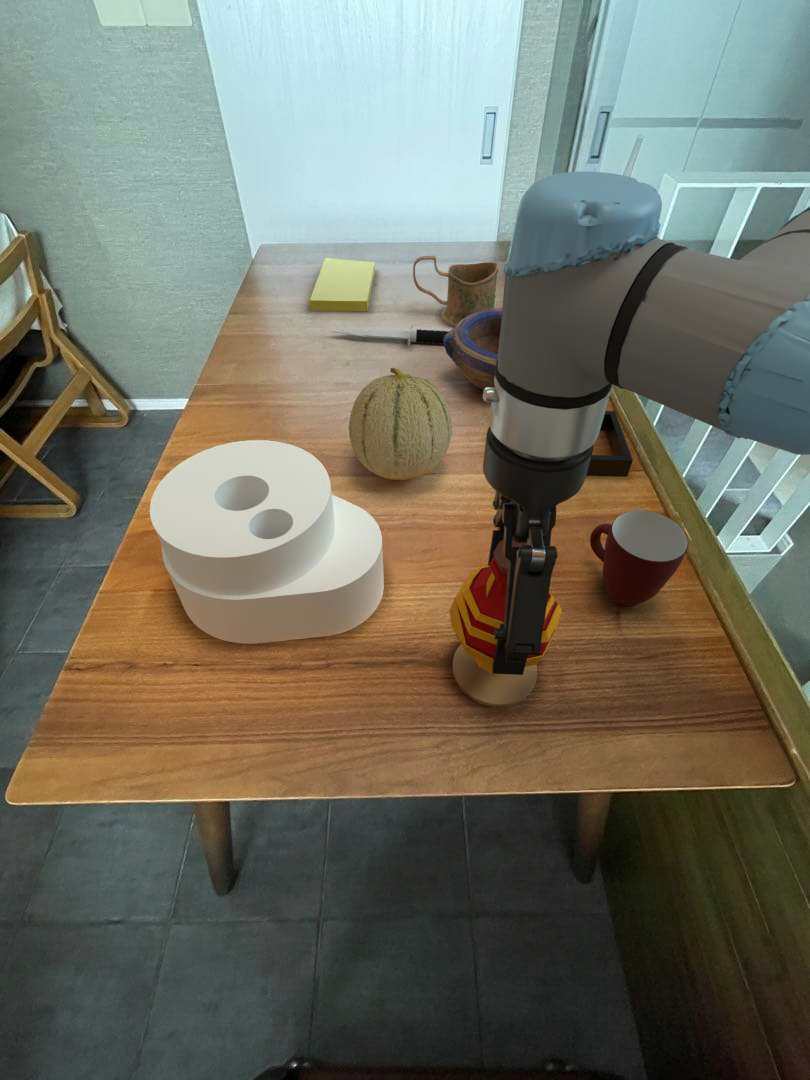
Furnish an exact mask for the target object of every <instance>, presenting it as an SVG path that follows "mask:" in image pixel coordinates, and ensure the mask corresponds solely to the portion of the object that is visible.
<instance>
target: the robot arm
mask: <svg viewBox="0 0 810 1080" xmlns="http://www.w3.org/2000/svg"><path fill="white" fill-rule="evenodd" d="M662 207H663V202H662V198H661V195H660V193H659V191H658V190H657V189H656V188H655V187H654V186H652V185H651V184H649V183H646V182H641V181H638V180H637V179H636V178H635V177H631V176H628V175H627V176H626V175H624V174H619V173H612V172H603V171H566V172H560V173H554V174H551V175H547V176H545V177H542V178H540V179H538V180H536V181H534V182H533V183H531V184H530V185H529V186H528V187H527V188H526V189H525V190H524V191H523V193H522V194H521V196H520V198H519V200H518V203H517V206H516V210H515V217H514V222H513V228H512V232H511V237H510V238H511V239H510V245H509V250H508V256H507V260H506V262H505V263H504V268H503V274H504V285H503V296H502V308H503V309H502V320H501V330H500V339H499V349H498V356H497V360H496V369H495V378H494V384H495V388H491V387H489V388H485V389H484V390H482V399H483V401H484V402H485V403H490V409H489V417H488V422H489V423H488V425H489V426H488V428H487V430H486V437H485V444H484V445H485V446H484V454H483V462H482V470H483V475H484V477H485V479H486V481H487V483H488V484H489V486H490V487H491V488H492V489H493V490H494V491H495V495H494V498H493V499H494V500H493V501H492V506H493V510H494V511H496V513H495V514H494V516H493V519H492V520H493V521H492V524H493V525H494V528H497V529H493V530H492V535H491V542H490V548H489V556H488V562H487V566H489V565H490V563H491V561H492V559H493V558H494V554H493V552H494V550H495V549H496V547H497V545H498V543H499V542H500V541H503V540H504V542H503V553H504V555H505V557H506V558H507V559H508V560H509V561H508V575H507V589H506V603H505V616H504V624H500V629H494V637H495V639H498V640H497V645H496V650H495V655H494V660H493V665H492V671H493V674H512V675H523V672H524V668H525V665H526V661H527V657H528V655H539V653H540V650H541V639H542V633H543V626H544V620H545V613H546V607H547V600H548V594H549V590H550V586H551V581H552V575H553V571H554V568H555V565H556V561H557V559H558V557H559V556H558V555H559V554H558V553H559V552H558V551H557V550H558V549H557V547H556V545H551V539H552V530H553V528H554V527H555V526H556V521H557V506H558V505H560V504H561V503H564V502H566V501H568V500H570V499H572V498H573V497H575V495H577V493H579V492H580V491H581V489H582V487H583V486H584V483H585V481H586V478H587V475H586V474H587V470H588V467H589V463H590V460H591V456H592V455H593V452H594V449H595V447H594V445H595V443H596V441H597V439H598V438H599V435H600V431H601V430H600V428H601V425H602V421H603V418H604V414H605V411H607V407H608V403H609V400H610V396H611V393H612V387H613V386H616V387H618V388H620V389H622V390H627V391H629V392H631V393H633V394H637V395H639V396H641V397H643V398H646V399H647V400H650V401H652V402H655V403H657V404H660V405H662V406H664V407H667V408H669V409H672V410H673V411H676V412H679V413H681V414H684V415H686V416H688V417H689V418H693V419H695V420H697V421H699V422H702V423H704V424H707V425H710V426H712V427H713V428H716V429H719V430H721V431H724V432H725V434H726V435H728V436H730V437H734V438H736V439H742V438H743V439H744V440H751V441H754V442H756V443H760V444H763V445H766V446H768V447H772V448H776V449H778V450H782V451H783V452H787V453H789V454H794V455H796V456H797V455H798V456H807V455H808V456H809V455H810V205H809V206H808V207H807V208H805V209H804V210H803V211H801V212H800V213H798V214H796V215H794V216H792V217H791V218H790V219H789V220H787V222H785V223H784V224H783V226H781V227H780V228H779V229H778V230H777V232H775V233H774V234H772V235H771V236H769V238H767V239H766V240H764V241H763V242H762V243H761V244H759V245H757V247H755V248H753V250H751V251H750V252H748V253H747V254H745V255H744V256H743V257H741V258H740V259H739V260H738V259H735V258H730V257H726V256H720V255H717V254H712V253H707V252H703V251H698V250H694V249H689V247H687V246H683V245H679V244H676V243H674V242H672V241H668V240H665V239H661V238H660V237H658V235H659V233H660V228H661V227H662V225H661V223H660V218H661V213H662V209H663V208H662ZM512 540H514V541H515V542H518V543H527V545H520V547H512Z"/></svg>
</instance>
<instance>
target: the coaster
mask: <svg viewBox="0 0 810 1080" xmlns="http://www.w3.org/2000/svg"><path fill="white" fill-rule="evenodd" d="M452 658H453V659H452V673H453V674H452V675H453V678H454V680H455V683H456V684H457V686H458V688H459V689H460V690H461V692H463V693H464V695H465V696H467V697H468V698H470V699H471V700H472V701H474V702H476V703H478V704H480V705H484V706H488V707H493V708H504V707H505V708H506V707H510V706H514V705H516V704H518V703H519V704H520V702H522V701H524V700H525V699H526V698H527V697H528V696H529V695H530V694H531V693H532V692H533V690H534V687H535V686H536V682H537V679H538V667H537V664H536V665H532V666H527V667H525V668H524V672H523V675H512V674H502V675H496V674H493V673H491V672H489V671H487V670H484V669H482V668H480V667H479V666H478V663H477V661H476V659H475V658H473V657H472V656H470V655H468V654H467V653H466V652H465V650H464V648H463V646H462V644H461V643H460V645H458V647H457V648H456V650H455V652H454V654H453V657H452Z"/></svg>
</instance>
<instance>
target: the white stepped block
mask: <svg viewBox="0 0 810 1080" xmlns="http://www.w3.org/2000/svg"><path fill="white" fill-rule="evenodd" d="M331 484H332V483H331V480H330V476H329V473H328V470H327V469H326V467H325V466H324V464H323V463H322V462H321V461H320V460H319V459H318V458H317V457H315V455H313V454H312V453H310V452H309V451H306V450H305V449H303V448H301V447H298V446H296V445H293V444H289V443H286V442H282V441H275V440H268V439H267V440H265V439H263V440H262V439H252V440H251V439H250V440H240V441H232V442H228V443H223V444H219V445H216V446H213V447H210V448H208V449H205V450H202V451H200V452H198V453H195V454H193V455H192V456H189V457H188V458H186V459H184V460H183V461H181V462H180V463H178V464H177V465H176V466H175V467H173V468H172V469H171V470H170V471H169V472H167V473H166V475H165V476H163V478H162V479H161V480H160V481H159V483H158V484H157V486H156V488H155V490H154V492H153V494H152V496H151V499H150V503H149V516H150V521H151V523H152V526H153V528H154V531H155V533H156V535H157V538H158V540H159V542H160V544H161V557H162V561H163V563H164V566H165V569H166V570H167V573H168V576H169V577H170V580H171V582H172V584H173V586H174V589H175V591H176V594H177V596H178V598H179V600H180V602H181V605H182V607H183V609H184V611H185V613H186V615H187V617H188V618H189V620H190V621H191V622H192V623H193V624H194V625H195V626H196V627H197V628H198V629H199V630H201V631H202V632H204V633H205V634H207V635H209V636H210V637H213V638H216V639H218V640H221V641H225V642H229V643H233V644H234V643H235V644H243V645H244V644H245V645H253V644H255V645H256V644H266V643H267V644H268V643H274V642H285V641H295V640H306V639H314V638H322V637H332V636H336V635H340V634H343V633H346V632H349V631H351V630H353V629H354V628H357V627H359V626H360V625H361V624H363V623H364V622H366V621H367V620H368V619H369V618H370V617H371V616H372V615H373V614H374V613H375V611H376V610H377V608H378V607H379V606H380V604H381V601H382V599H383V596H384V590H385V575H384V556H383V555H384V552H383V551H384V550H383V536H382V531H381V529H380V526H379V524H378V522H377V521H376V519H375V518H374V517H373V516H372V515H371V514H370V513H369V512H368V511H366V510H365V509H363V508H362V507H360V506H358V505H356V504H354V503H351V502H349V501H347V500H345V499H343V498H341V497H339V496H336V495H334V494H332V493H333V492H332V485H331Z"/></svg>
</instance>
